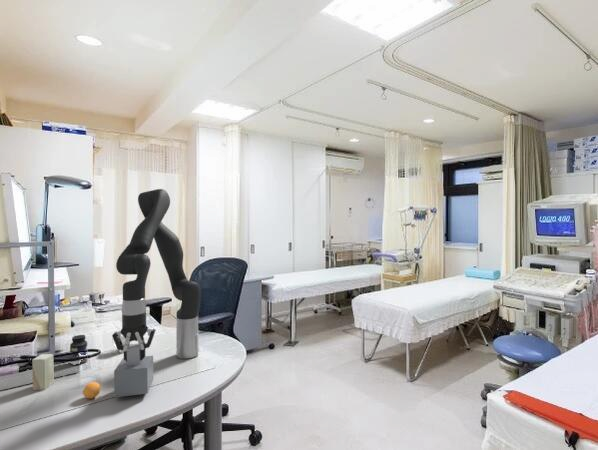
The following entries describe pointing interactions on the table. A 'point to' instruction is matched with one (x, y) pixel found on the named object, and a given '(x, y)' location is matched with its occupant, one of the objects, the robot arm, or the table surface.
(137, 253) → the robot arm
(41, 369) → the box
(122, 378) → the grey stepped block
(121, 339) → the cup
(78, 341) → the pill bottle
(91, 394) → the ball
